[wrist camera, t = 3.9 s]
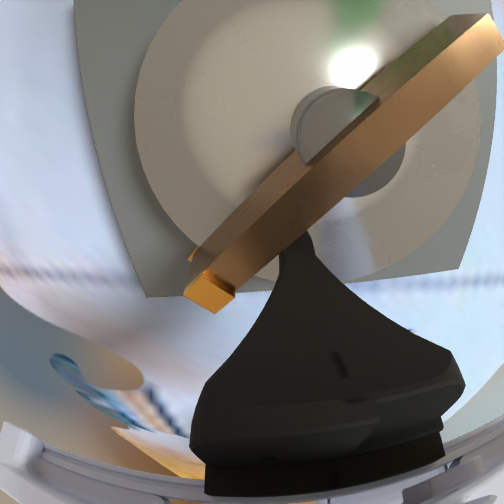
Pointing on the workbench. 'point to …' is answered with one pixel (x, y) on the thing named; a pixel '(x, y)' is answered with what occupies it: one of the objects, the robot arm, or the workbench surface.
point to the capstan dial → (309, 130)
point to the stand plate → (136, 183)
